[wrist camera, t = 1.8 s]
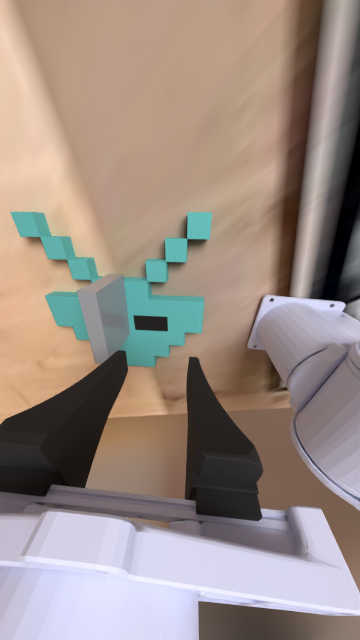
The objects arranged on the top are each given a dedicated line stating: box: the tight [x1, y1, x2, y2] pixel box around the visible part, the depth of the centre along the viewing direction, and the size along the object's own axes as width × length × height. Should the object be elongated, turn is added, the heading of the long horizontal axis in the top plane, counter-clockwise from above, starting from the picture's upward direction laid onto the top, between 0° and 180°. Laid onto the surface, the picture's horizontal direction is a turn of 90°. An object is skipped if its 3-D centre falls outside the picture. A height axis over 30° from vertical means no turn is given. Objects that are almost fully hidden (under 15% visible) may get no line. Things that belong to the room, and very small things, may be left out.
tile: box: [77, 274, 130, 364], centre depth 18 cm, size 2×8×6 cm, turn 177°
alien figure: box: [11, 212, 212, 367], centre depth 22 cm, size 20×2×20 cm
